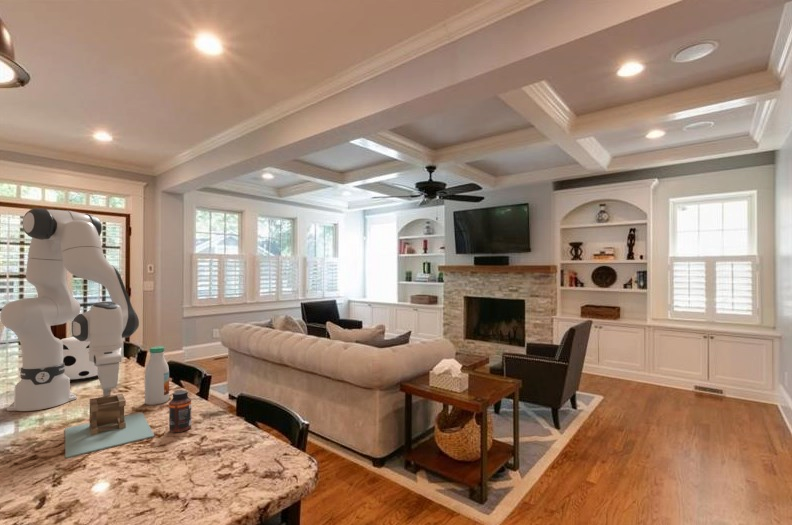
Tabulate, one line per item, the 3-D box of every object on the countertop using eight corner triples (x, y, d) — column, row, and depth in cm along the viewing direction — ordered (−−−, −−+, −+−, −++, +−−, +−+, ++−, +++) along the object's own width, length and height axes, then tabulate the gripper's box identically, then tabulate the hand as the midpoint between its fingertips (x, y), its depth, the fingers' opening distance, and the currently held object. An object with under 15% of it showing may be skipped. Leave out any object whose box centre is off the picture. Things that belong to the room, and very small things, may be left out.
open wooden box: (89, 426, 122) (89, 399, 122) (122, 419, 128) (122, 393, 128) (91, 435, 116) (91, 406, 116) (125, 427, 121) (125, 400, 121)
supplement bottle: (195, 426, 123) (195, 390, 123) (179, 434, 117) (179, 396, 117) (181, 424, 125) (181, 388, 125) (164, 431, 119) (164, 394, 119)
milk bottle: (157, 406, 141) (157, 350, 141) (139, 404, 143) (139, 349, 143) (174, 399, 149) (174, 345, 149) (156, 397, 150) (156, 345, 150)
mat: (65, 429, 121) (65, 428, 121) (142, 413, 134) (142, 412, 134) (65, 458, 103) (65, 456, 103) (154, 436, 116) (154, 435, 116)
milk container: (113, 376, 180) (113, 336, 180) (65, 386, 165) (65, 343, 165) (96, 371, 189) (96, 333, 189) (50, 380, 174) (50, 339, 175)
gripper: (92, 349, 132) (92, 391, 132) (96, 360, 117) (96, 407, 117) (115, 347, 136) (115, 387, 136) (122, 357, 121) (122, 402, 121)
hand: (106, 396), depth 126 cm, fingers closed
